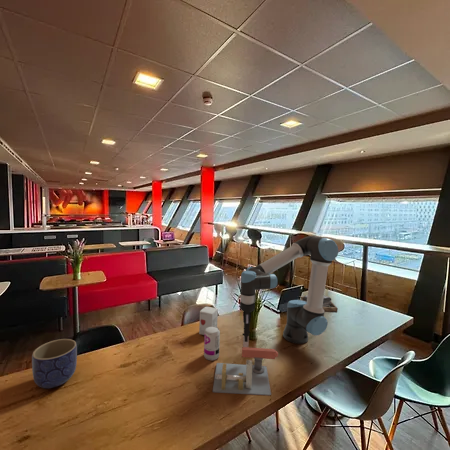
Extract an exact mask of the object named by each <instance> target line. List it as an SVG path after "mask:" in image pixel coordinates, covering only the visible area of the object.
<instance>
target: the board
mask: <svg viewBox="0 0 450 450" xmlns="http://www.w3.org/2000/svg"><path fill="white" fill-rule="evenodd" d="M223 364H226V375H239V373H243V376H246V364H239V363H238V364H237V363H224V362H216V367H215V371H214V372H215V373H214V375H215V374H222V368H223ZM262 364H263V359H262V360H260V361H259V360H255V359H254V363H253V364H252V386H251V389H250V388H246V382H243V390H238V382H234V381H226V385H225V390H223V389H222V381H220V380H214V379H213V387H212V393H222V394H236V395H237V394H239V395H252V396H253V395H254V396H256V395H257V396H270V395H271V396H272V392H271V391H272V390H271V387H270V386H271V385H270V378H269V374H268V367H267V365H262Z"/></svg>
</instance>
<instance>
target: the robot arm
mask: <svg viewBox="0 0 450 450" xmlns="http://www.w3.org/2000/svg"><path fill="white" fill-rule="evenodd" d="M338 254H339V246H338V245H337V243H336V241H334V240H333V239H330V238H327V237H321V236H315V235H309V236H304V237H303V238H301V239H299V240H297V241H295V242H293V243H292V244H291V246H289V247H288V248H286V249H284V250H282V251H281V252H279V253H277V254H276V255H275V254H274V256H272V257H270V258H269V259H267V260H264V261H263V262H262V263H260V264H258V265H256V266H249V267H247V268H246V269H245V270H244V271H242V272H241V275H240V294H239V296H238V297H239V299H240V301H239V302H240V303H239V309H240V311H242V317H243V319H242V321H243V333H242V337H243V340H242V341H243V343H242V347H249V345H250V343H249V342H250V333H251V331H250V323H251V318H252V312H254V311H255V309H256V308H255V307H256V291H260V290H271V289H275V288H277V286H278V281H279V280H278V277H277V276H276V274H275V272H276V271H277V270H278V269H281V268H282V267H285V266H286V265H287V264H289V263H291V262H292V261H294V260H296V259H298V258H302V257H305V256H309V257H310V258H309V260H310V262H311V268H310V269H311V270H310V276H309V283H308V291H307V295H308V296H307V302H305V300H303V301H302V300H299V299H292V300H289V301H288V302H287V306H286V324H285V326H284V329H283V332H282V336H283V338H284V339H285V340H286V341H288V342H290V343H293V344H299V345H302V344H306V343H307V342H309V334H310V335H313V336H320V335H321V334H323V333H324V332H325V331H326V330H327V328H328V325H329V324H328V322H329V321H328V320H327V318H326V317H325V311H324V309H323V308H322V305H323V299H324V295H325V291H326V285H327V284H326V282H327V279H328V278H327V277H328V270H329V266H330V265H332V263H333V261H334V260H336V258H338V256H339V255H338ZM308 333H309V334H308Z"/></svg>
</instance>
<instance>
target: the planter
mask: <svg viewBox="0 0 450 450" xmlns="http://www.w3.org/2000/svg"><path fill="white" fill-rule="evenodd" d="M77 345H78V344H77V342H76V341H75V340H73V339H71V338H61V339H60V338H59V339H55V340H50V341H49V342H48V341H47V342H46V343H43V344H41V345H40V346H38V347H37V348H35V349H34V350H33V352H32V353H31V354H32V355H31V367H32V371H31V372H32V377H33V381H34V383H35V385H37V387H39V388H42V389H52V388H56V387H58V386H61V385H64V384H65V383H67V381H69V380H70V379H71V378H72V377H73V375H74V373H75V372H76V369H77V361H78V360H77V359H78V346H77Z"/></svg>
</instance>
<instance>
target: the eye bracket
mask: <svg viewBox="0 0 450 450" xmlns="http://www.w3.org/2000/svg"><path fill="white" fill-rule="evenodd" d="M226 364H227V363H226ZM226 364H223V368H222V389H223V390H225V385H226ZM239 376H243V373H239ZM238 390H243V379H239V382H238Z"/></svg>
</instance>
